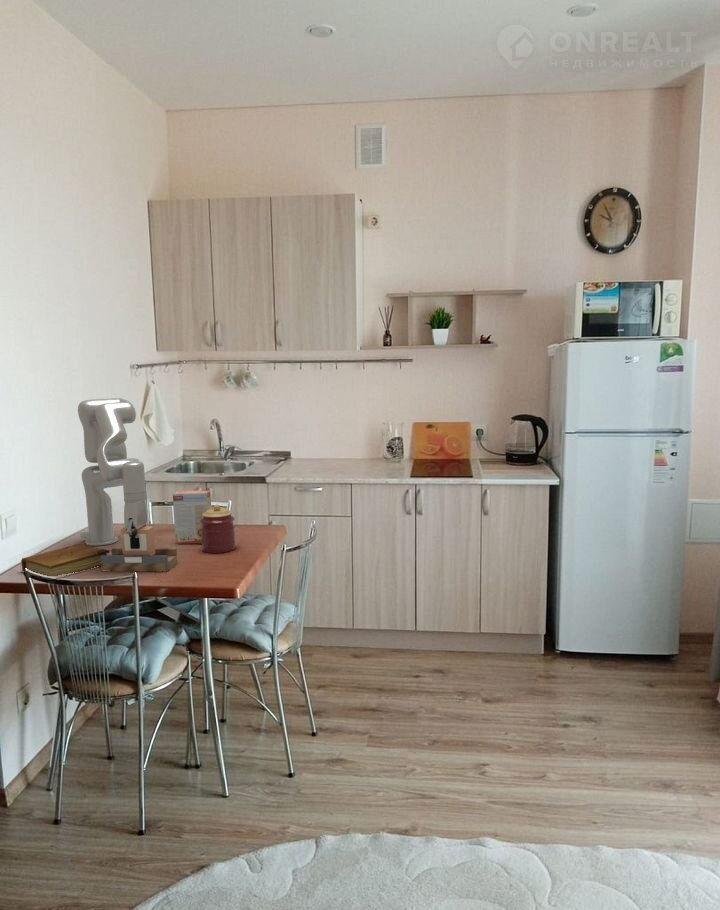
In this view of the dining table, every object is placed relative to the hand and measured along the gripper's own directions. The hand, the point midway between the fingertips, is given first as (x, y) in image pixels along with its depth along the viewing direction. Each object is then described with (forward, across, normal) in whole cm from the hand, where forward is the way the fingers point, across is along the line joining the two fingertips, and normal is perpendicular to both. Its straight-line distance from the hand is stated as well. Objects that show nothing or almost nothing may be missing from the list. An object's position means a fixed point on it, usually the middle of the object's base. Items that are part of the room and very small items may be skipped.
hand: (138, 545), depth 257 cm
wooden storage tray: (+8, 0, 0) cm, 8 cm away
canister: (+8, -24, +22) cm, 34 cm away
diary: (+9, +1, -27) cm, 28 cm away
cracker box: (+8, -34, +9) cm, 36 cm away
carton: (+4, 0, 0) cm, 4 cm away
